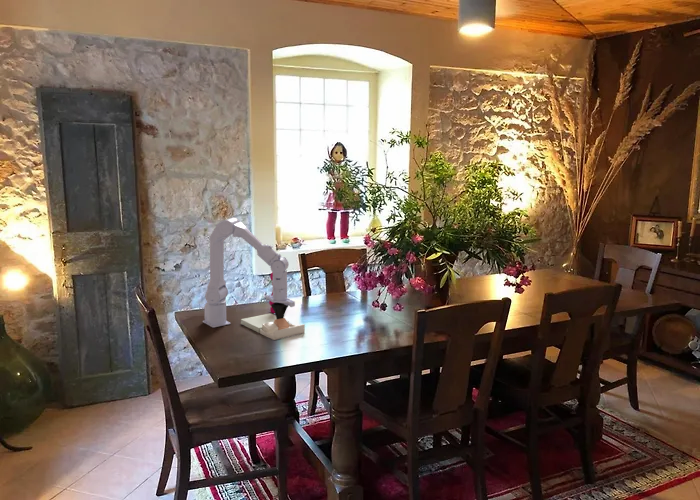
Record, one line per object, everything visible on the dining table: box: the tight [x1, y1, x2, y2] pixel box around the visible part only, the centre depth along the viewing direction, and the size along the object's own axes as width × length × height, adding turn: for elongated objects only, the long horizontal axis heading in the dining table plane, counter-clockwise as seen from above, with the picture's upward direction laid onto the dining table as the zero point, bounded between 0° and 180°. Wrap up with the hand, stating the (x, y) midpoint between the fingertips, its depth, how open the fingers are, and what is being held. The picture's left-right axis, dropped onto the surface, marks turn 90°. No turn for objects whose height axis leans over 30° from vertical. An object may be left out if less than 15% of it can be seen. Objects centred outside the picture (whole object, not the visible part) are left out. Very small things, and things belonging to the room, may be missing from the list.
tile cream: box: [262, 322, 278, 334], centre depth 219 cm, size 4×4×2 cm
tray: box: [259, 322, 306, 341], centre depth 219 cm, size 10×14×4 cm
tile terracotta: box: [274, 317, 289, 330], centre depth 222 cm, size 4×4×2 cm
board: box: [240, 312, 290, 334], centre depth 229 cm, size 14×14×2 cm
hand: (280, 320), depth 225 cm, fingers closed
